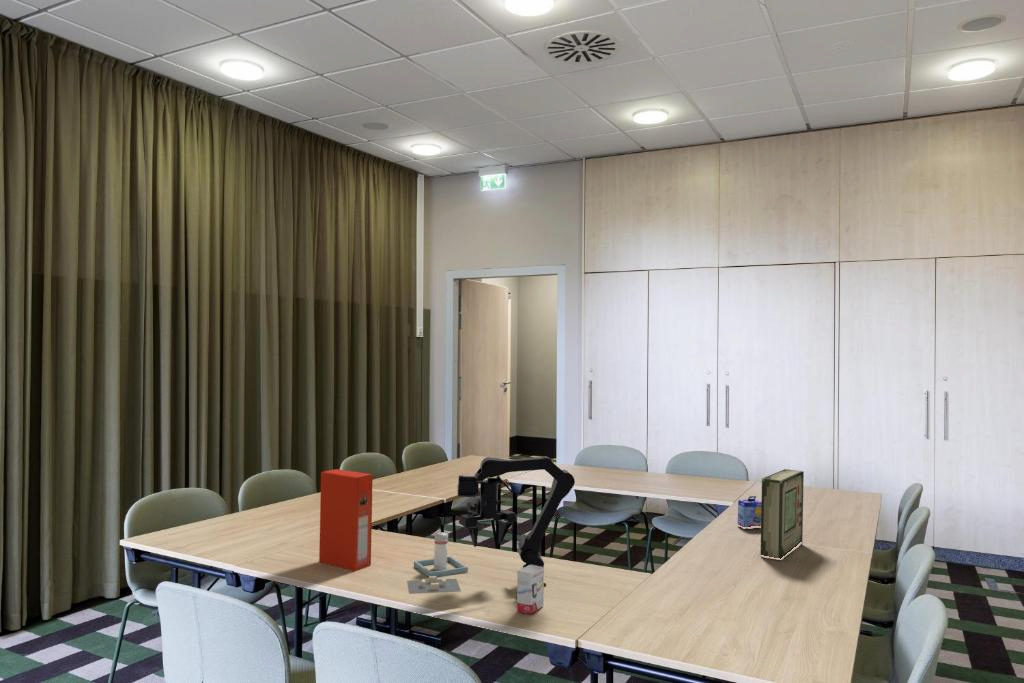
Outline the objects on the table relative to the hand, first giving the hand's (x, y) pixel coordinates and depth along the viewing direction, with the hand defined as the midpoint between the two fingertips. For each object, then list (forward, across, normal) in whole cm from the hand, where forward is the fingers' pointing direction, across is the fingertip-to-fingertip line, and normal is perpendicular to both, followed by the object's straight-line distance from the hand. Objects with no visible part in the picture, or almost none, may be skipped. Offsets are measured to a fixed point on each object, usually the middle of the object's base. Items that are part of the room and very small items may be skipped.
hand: (487, 544), depth 225 cm
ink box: (+13, -2, +24) cm, 28 cm away
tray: (+13, +8, -19) cm, 24 cm away
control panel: (+13, -124, +15) cm, 126 cm away
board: (+13, +17, -4) cm, 22 cm away
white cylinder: (+12, +8, -19) cm, 24 cm away
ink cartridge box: (+13, -141, -16) cm, 143 cm away
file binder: (+13, +35, -41) cm, 55 cm away
